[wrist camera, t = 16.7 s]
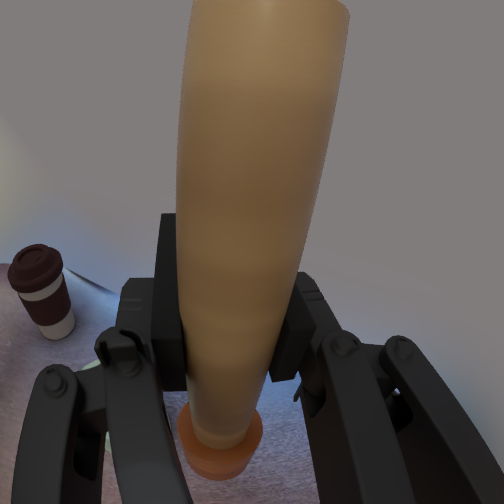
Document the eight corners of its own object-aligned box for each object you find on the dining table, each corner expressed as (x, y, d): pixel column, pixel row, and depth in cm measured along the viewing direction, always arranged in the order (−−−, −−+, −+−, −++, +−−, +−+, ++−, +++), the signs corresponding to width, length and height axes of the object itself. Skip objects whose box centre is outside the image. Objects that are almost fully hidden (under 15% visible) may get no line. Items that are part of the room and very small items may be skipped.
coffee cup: (29, 321, 38) (0, 253, 30) (70, 299, 45) (49, 231, 37) (46, 356, 34) (8, 286, 26) (91, 330, 41) (66, 257, 33)
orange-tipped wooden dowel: (246, 484, 14) (446, 8, 2) (180, 474, 14) (97, -28, 2) (251, 430, 17) (357, 44, 5) (191, 421, 17) (189, 22, 5)
